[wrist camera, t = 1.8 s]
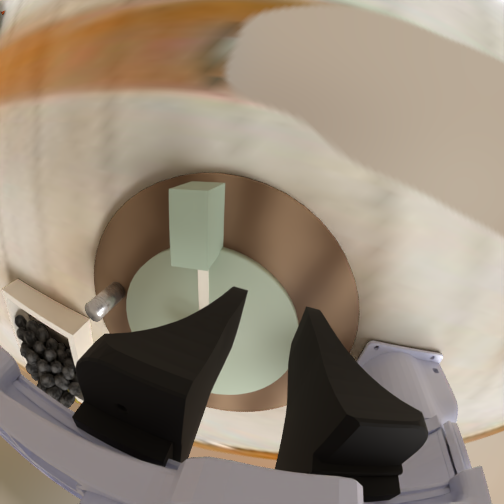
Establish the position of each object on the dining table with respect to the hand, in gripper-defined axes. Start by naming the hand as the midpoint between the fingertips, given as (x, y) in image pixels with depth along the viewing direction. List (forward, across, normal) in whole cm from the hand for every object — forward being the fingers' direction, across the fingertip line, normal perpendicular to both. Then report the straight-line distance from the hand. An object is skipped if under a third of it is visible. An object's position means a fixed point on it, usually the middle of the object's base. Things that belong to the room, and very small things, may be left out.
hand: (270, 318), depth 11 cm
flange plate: (+9, +4, +6) cm, 12 cm away
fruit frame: (+10, +26, +23) cm, 36 cm away
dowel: (+10, +14, +9) cm, 19 cm away
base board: (+10, +4, +9) cm, 14 cm away
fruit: (+11, +26, +23) cm, 36 cm away
